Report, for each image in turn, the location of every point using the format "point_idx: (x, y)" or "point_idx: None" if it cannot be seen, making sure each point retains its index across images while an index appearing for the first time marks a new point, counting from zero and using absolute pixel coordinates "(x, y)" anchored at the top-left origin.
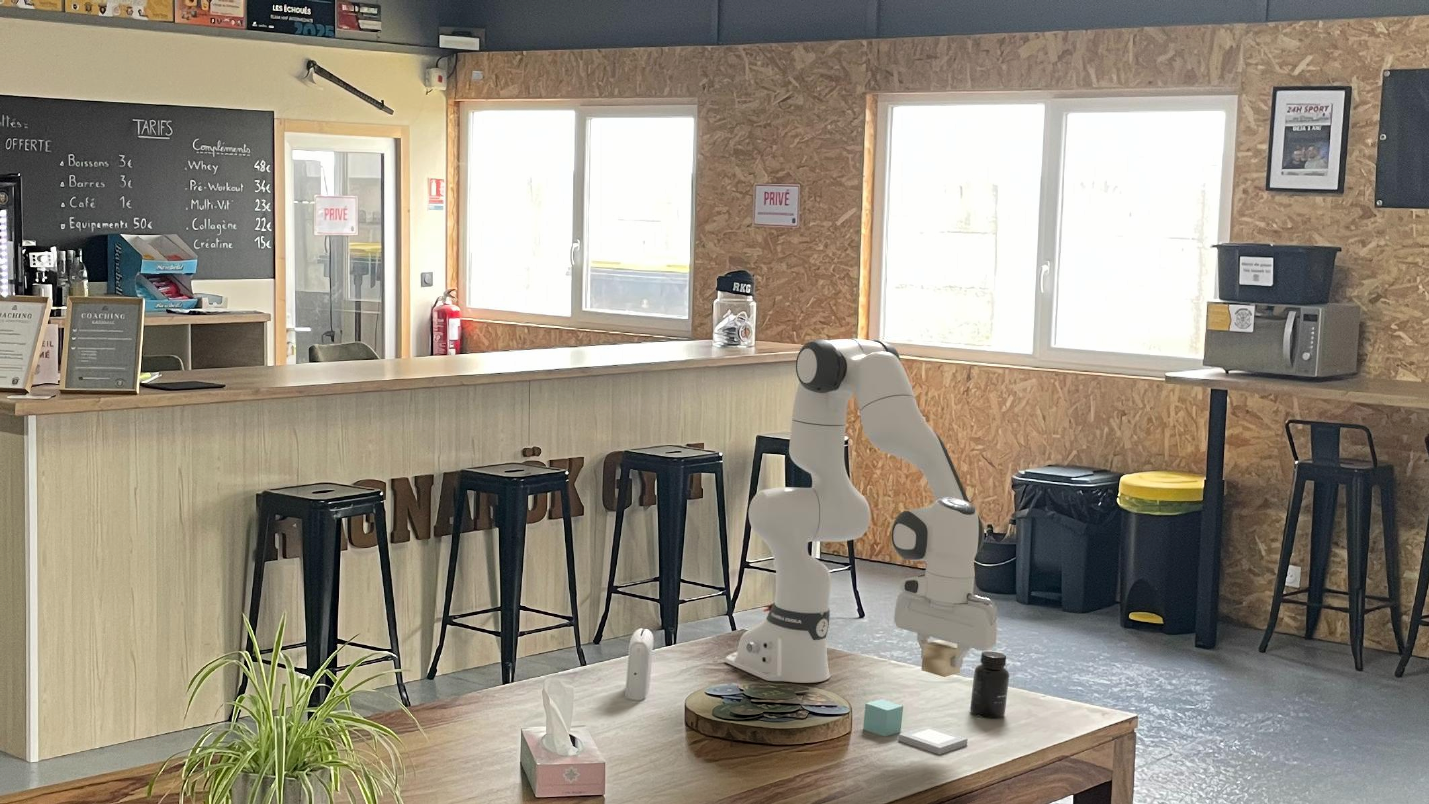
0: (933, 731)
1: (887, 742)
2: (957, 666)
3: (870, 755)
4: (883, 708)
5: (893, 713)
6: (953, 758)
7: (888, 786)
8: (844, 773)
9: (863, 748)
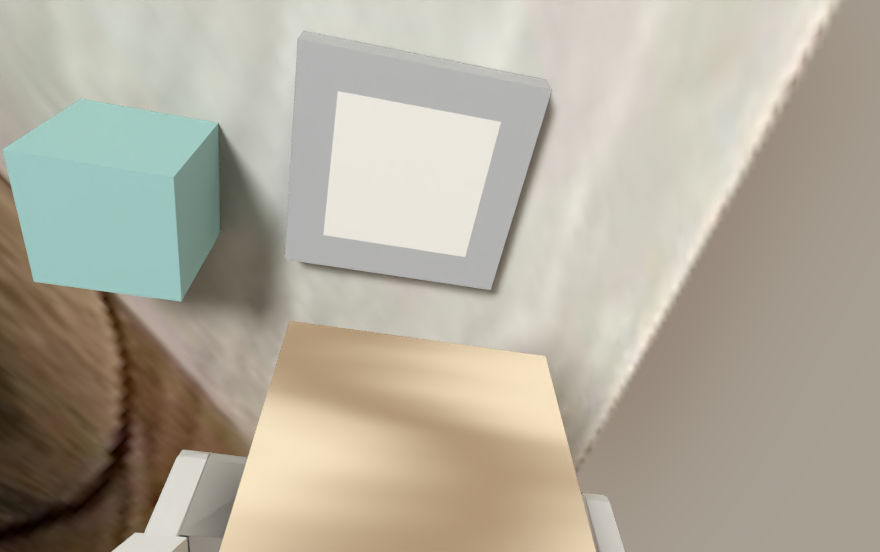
0: (373, 111)
1: (273, 287)
2: None
3: None
4: (147, 290)
5: (187, 241)
6: (546, 274)
7: None
8: None
9: (258, 386)
